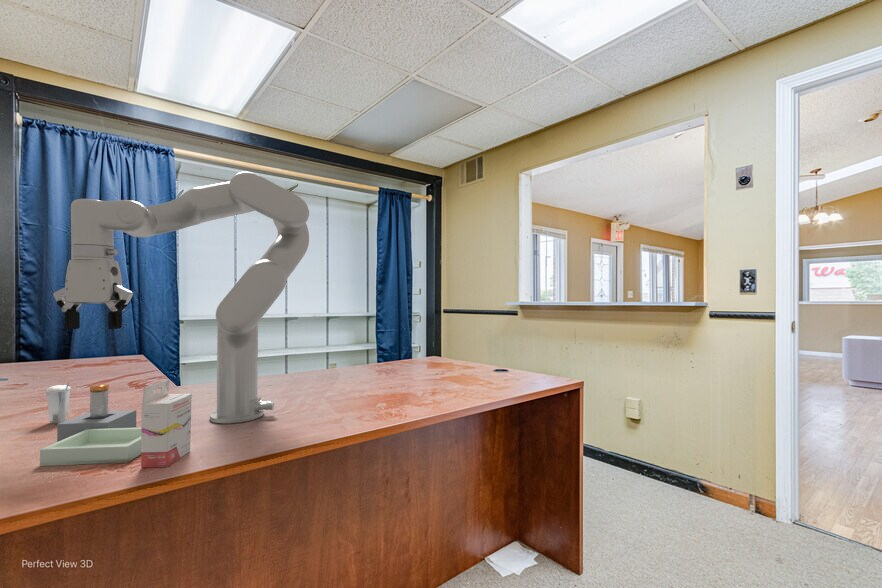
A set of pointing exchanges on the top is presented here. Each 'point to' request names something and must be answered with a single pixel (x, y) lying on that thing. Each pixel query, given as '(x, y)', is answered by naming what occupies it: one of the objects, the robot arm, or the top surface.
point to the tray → (94, 447)
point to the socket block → (96, 423)
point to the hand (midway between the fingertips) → (93, 328)
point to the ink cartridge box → (164, 426)
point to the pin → (99, 401)
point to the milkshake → (58, 403)
